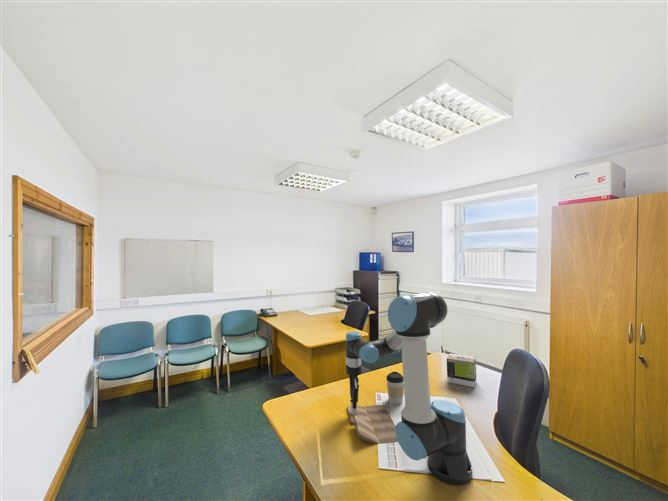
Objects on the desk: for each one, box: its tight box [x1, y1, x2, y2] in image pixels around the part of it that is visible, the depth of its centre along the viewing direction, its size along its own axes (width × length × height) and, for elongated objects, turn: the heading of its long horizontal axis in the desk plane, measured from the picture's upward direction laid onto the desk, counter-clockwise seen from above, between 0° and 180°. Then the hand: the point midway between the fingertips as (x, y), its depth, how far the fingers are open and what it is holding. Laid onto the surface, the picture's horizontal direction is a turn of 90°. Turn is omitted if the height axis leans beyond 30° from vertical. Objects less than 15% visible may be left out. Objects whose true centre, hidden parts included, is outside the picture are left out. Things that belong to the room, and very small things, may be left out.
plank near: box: [353, 415, 380, 445], centre depth 123 cm, size 14×9×1 cm, turn 6°
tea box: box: [446, 353, 478, 389], centre depth 170 cm, size 15×10×15 cm, turn 58°
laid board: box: [364, 404, 398, 445], centre depth 131 cm, size 28×10×1 cm, turn 6°
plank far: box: [346, 405, 372, 426], centre depth 137 cm, size 14×9×1 cm, turn 6°
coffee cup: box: [386, 371, 404, 405], centre depth 149 cm, size 9×9×15 cm
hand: (353, 413), depth 137 cm, fingers closed
